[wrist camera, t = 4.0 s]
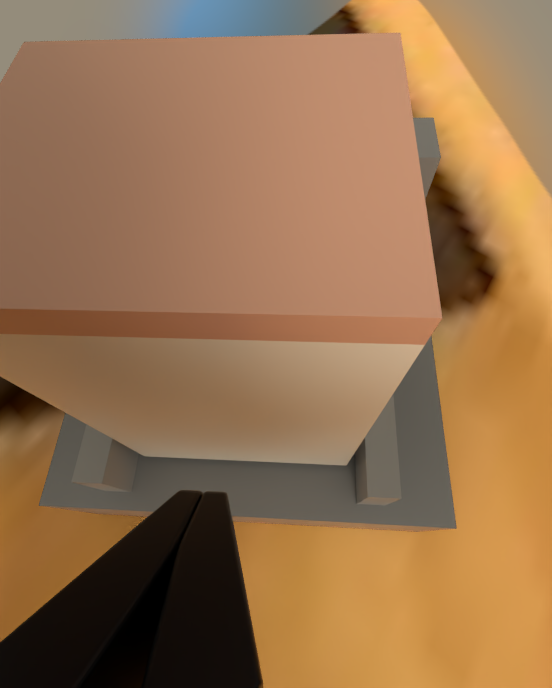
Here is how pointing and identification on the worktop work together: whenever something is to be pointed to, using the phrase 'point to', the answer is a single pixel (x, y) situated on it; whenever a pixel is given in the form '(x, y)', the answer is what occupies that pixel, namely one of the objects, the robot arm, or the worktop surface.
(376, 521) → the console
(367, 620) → the worktop surface
